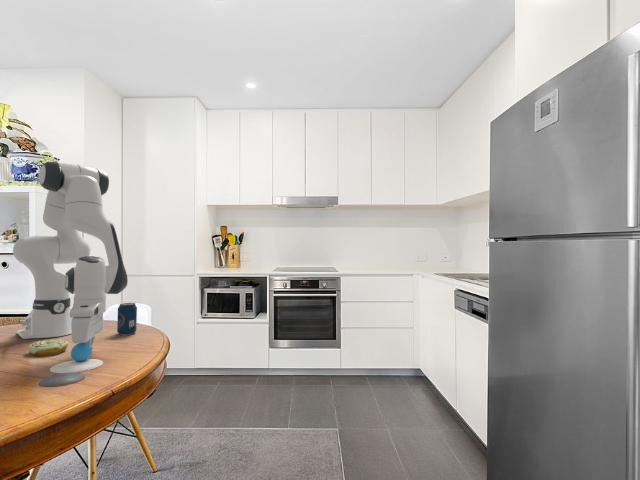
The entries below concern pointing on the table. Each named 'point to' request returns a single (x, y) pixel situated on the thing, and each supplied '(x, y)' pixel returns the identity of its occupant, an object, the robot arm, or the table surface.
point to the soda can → (127, 319)
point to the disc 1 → (61, 379)
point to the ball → (81, 352)
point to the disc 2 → (76, 366)
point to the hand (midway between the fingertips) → (88, 350)
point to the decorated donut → (48, 347)
